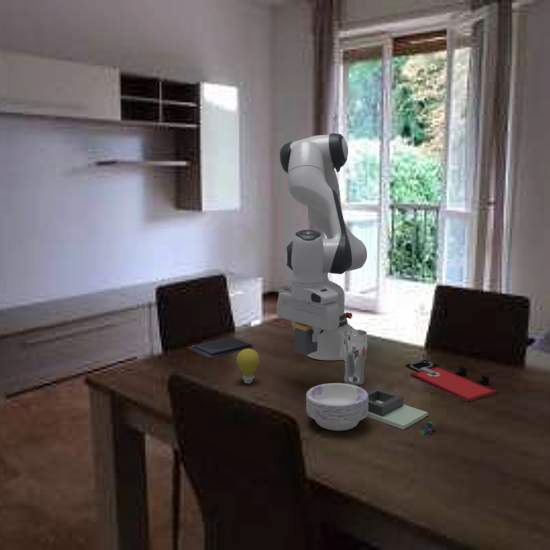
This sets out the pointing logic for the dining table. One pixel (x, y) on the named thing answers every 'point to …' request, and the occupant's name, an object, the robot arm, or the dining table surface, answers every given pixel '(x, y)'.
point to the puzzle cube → (428, 428)
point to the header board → (392, 409)
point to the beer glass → (354, 355)
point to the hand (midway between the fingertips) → (306, 339)
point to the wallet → (220, 347)
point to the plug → (304, 339)
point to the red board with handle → (451, 380)
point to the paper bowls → (337, 405)
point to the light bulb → (248, 363)
